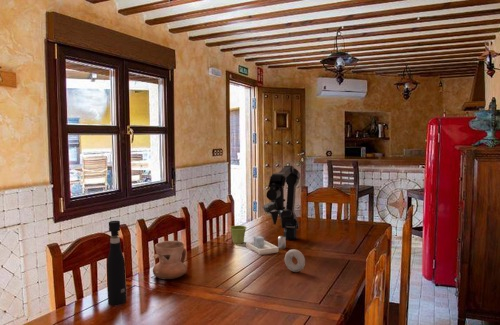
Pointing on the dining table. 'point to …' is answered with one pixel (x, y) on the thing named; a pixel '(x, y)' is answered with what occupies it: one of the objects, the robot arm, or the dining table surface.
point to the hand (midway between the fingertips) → (278, 226)
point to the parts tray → (263, 248)
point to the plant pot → (238, 234)
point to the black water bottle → (116, 268)
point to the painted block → (258, 241)
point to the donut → (300, 260)
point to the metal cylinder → (281, 242)
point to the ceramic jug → (170, 260)
